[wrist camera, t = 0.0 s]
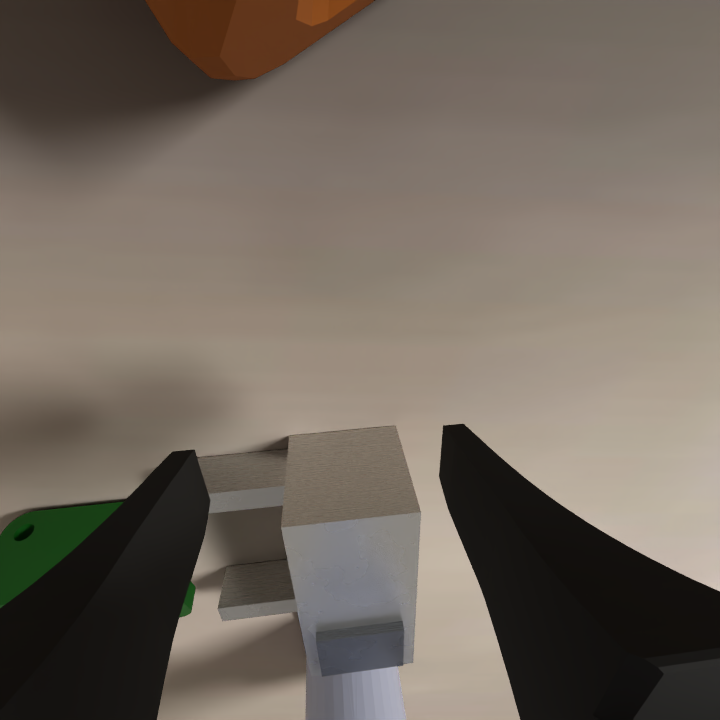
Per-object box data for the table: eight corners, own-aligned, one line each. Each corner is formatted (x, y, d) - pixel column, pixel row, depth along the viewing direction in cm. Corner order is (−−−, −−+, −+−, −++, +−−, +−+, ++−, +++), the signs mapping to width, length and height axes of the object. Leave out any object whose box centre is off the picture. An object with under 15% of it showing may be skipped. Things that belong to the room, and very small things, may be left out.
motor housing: (394, 567, 31) (414, 671, 25) (233, 586, 30) (212, 700, 24) (395, 425, 24) (423, 521, 18) (187, 445, 23) (141, 552, 17)
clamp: (105, 503, 30) (3, 627, 24) (67, 464, 26) (-65, 599, 20) (232, 547, 28) (153, 696, 22) (211, 510, 24) (108, 679, 18)
